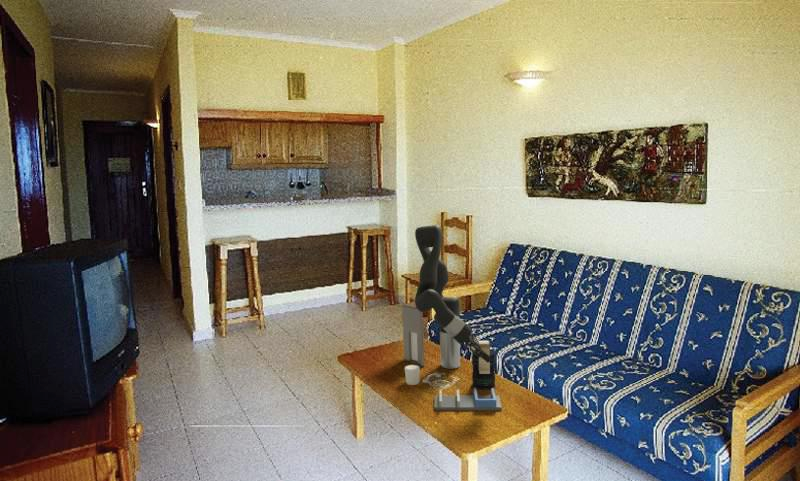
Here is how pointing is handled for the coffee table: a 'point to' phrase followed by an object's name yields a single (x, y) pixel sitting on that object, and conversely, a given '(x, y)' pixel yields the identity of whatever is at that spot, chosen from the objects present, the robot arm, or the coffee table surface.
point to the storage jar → (483, 379)
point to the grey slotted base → (467, 401)
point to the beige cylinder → (412, 374)
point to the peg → (483, 365)
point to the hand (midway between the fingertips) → (489, 358)
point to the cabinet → (413, 334)
